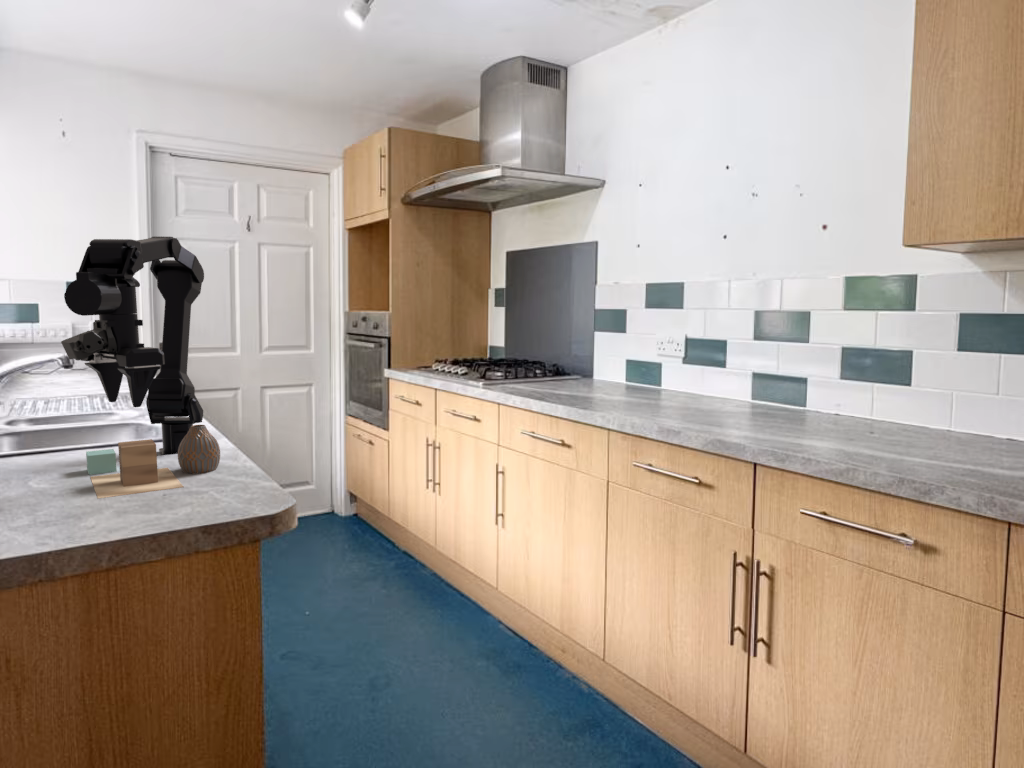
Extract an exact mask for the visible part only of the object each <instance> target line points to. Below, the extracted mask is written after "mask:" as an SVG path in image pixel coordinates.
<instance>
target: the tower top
mask: <svg viewBox="0 0 1024 768" xmlns="http://www.w3.org/2000/svg"><path fill="white" fill-rule="evenodd" d="M117 445H118V460H119V461H118V462H120V464H121V465H122V467H129V466H138V465H147V464H156V463H157V464H158V456H157V444H156V442H155V441H154V440H153V439H152V438H151V439H150V438H149V439H144V440H143V439H142V440H140V439H139V440H131V441H122V442H121V441H120V442H119V441H118V442H117ZM120 464H119V465H120Z"/></svg>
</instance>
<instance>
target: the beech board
mask: <svg viewBox="0 0 1024 768" xmlns="http://www.w3.org/2000/svg"><path fill="white" fill-rule="evenodd" d="M157 471H158V482H157V483H149V484H141V485H133V486H125V487H124V486H123V484H122V482H121V480H120V472H119V473H111V474H110V473H109V474H103V475H102V474H101V475H93V476H90V480H91V482H92V485H93V488H94V491H95V492H94V493H95V494H96V498H97V500H98V499H105V498H112V497H120V496H126V495H127V496H129V495H134V494H135V495H137V494H143V493H149V492H151V493H152V492H158V491H165V490H167V491H168V490H173V489H180V488H181V489H182V488H184V487H185V485H183V484H182V483H181V481H180V480H179V479H178V478H177V477H176V476H175V474H174V473H173V472H172V471H171V469H170V468H169V467H161V468H157Z"/></svg>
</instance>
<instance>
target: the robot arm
mask: <svg viewBox="0 0 1024 768" xmlns="http://www.w3.org/2000/svg"><path fill="white" fill-rule="evenodd" d="M197 257H198V256H197V255H195V254H194V253H192V252H191V251H189V250H188V249H186V248H185V247H184V246H182V244H181V243H180V241H179V240H178V239H177V238H176V237H173V236H151V237H148V238H143V239H138V240H136V239H131V238H130V239H128V238H127V239H123V238H122V239H119V238H114V239H113V238H112V239H111V238H109V239H108V238H96V239H95V238H94V239H92V240H91V241H90V242H89V245H88V247H86V250H85V252H84V255H83V259H82V260H81V264H80V267H79V269H78V271H76V272H75V280H73V281H72V282H70V283H69V284H67V285H68V286H67V287H66V289H65V293H64V295H63V296H64V302H65V304H66V306H67V307H68V309H69V310H70V311H71V312H72V313H74V314H76V315H78V316H85V317H86V316H98V317H99V318H98V319H94V321H93V323H92V326H93V329H91V330H86V331H85V332H82V333H81V332H80V333H79V334H75V335H73V336H71V337H69V338H68V337H67V338H66V339H63V340H61V341H60V344H62V347H63V350H64V352H65V353H66V356H67V358H68V360H75V361H81V362H84V366H86V367H89V368H90V369H92V370H93V371H94V372H95V373H96V374H97V376H98V379H99V380H100V382H101V385H102V388H103V390H104V393H105V395H106V398H107V400H108V402H109V403H115V402H117V400H118V396H119V394H120V388H121V385H122V381H123V376H125V378H126V380H127V384H128V385H127V386H128V390H129V395H130V400H131V404H132V407H133V408H140V407H142V404H143V402H144V400H145V398H146V400H145V401H146V403H145V404H146V408H147V413H148V417H149V421H150V424H151V425H155V424H159V425H160V424H161V437H162V439H161V440H162V447H161V448H158V451H159V453H160V454H161V455H162V456H168V455H170V456H171V455H178V448H179V445H180V443H181V441H182V439H183V438H184V437H185V435H186V434H187V433H188V431H189V429H190V427H191V426H192V425H196V424H199V423H202V422H203V421H204V419H203V418H204V409H203V408H202V405H201V403H200V402H199V399H198V398H197V397H196V393H195V389H196V388H195V386H194V384H193V382H192V380H191V379H190V377H189V375H188V361H189V360H188V359H189V344H190V343H189V342H190V331H191V330H190V329H191V328H190V327H191V310H192V304H193V303H194V302H195V301H196V300H197V298H198V297H199V296H200V294H201V292H202V291H201V290H202V284H203V282H204V280H205V271H204V268H203V267H202V264H201V262H200V261H199V259H198V258H197ZM168 258H170V259H168ZM171 258H173V259H171ZM163 259H164V260H163ZM161 260H162V261H161ZM150 262H151V264H150V268H149V270H150V272H151V273H152V275H153V277H154V278H155V279H156V280H157V281H156V287H157V289H158V291H159V292H160V294H161V296H162V298H163V299H164V312H163V313H164V314H163V327H162V340H161V341H162V345H161V349H160V348H159V347H153V346H152V347H150V346H149V347H148V346H147V347H146V346H145V343H141V342H140V335H139V327H143V326H144V322H143V319H139V317H138V305H137V303H138V301H137V291H136V289H137V288H139V287H140V286H141V284H140V283H141V282H139V281H138V280H137V279H136V278H135V277H134V275H136V273H137V272H139V271H141V270H142V269H143V268H145V266H144V264H145V263H150ZM159 370H160V371H159ZM158 371H159V373H158ZM157 373H158V374H157ZM156 374H157V375H156ZM155 376H156V377H155ZM146 395H147V396H146Z"/></svg>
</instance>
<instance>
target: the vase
mask: <svg viewBox="0 0 1024 768" xmlns="http://www.w3.org/2000/svg"><path fill="white" fill-rule="evenodd" d="M220 460H221V448H220V444H219V442H218V440H217V439H216V437H215V436H214V435H213V434H212V433H211V432H210V431H209V430H208V427H206V425H205V424H193V425H192V426H191V427H190V429H189V431H188V433H187V434H186V435H185V437H184V438H183V439H182V441H181V443H180V445H179V448H178V454H177V461H178V465H179V467H180V470H181V471H182V472H183V473H185V474H192V475H193V474H195V475H196V474H205V473H210V472H214V471H216V470H217V469H218V467H219V465H220Z"/></svg>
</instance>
